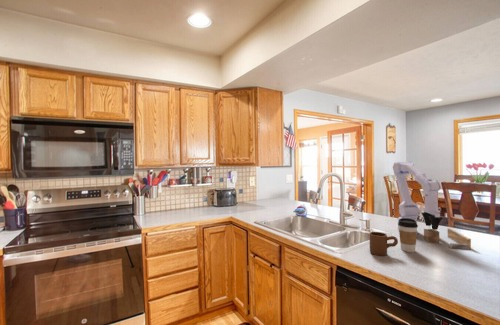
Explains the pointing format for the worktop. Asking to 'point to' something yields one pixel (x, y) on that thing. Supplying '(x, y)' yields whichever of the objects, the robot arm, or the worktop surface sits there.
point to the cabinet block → (431, 235)
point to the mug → (381, 243)
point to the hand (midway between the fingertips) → (431, 227)
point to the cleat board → (457, 240)
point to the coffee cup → (408, 234)
